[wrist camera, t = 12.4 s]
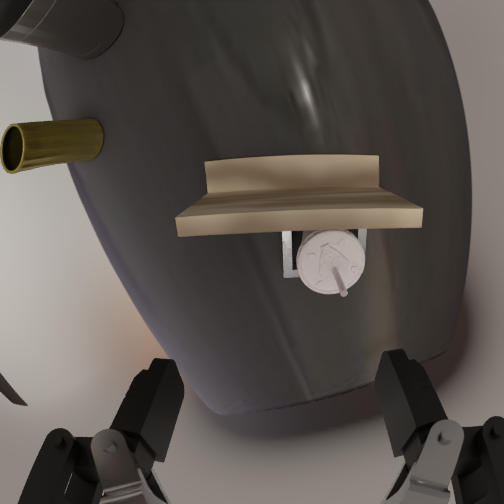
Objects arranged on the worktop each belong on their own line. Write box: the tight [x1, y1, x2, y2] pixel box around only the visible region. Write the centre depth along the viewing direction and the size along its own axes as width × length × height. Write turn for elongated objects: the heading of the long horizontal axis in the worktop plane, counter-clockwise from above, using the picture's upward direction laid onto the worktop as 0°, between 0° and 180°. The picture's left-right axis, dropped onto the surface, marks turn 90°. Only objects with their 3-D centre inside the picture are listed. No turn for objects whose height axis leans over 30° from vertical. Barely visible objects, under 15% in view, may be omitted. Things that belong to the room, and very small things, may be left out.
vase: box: [0, 118, 104, 174], centre depth 24 cm, size 6×6×14 cm
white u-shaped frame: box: [282, 229, 367, 278], centre depth 31 cm, size 9×10×4 cm
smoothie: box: [296, 229, 365, 297], centre depth 26 cm, size 6×6×14 cm
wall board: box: [175, 154, 423, 237], centre depth 25 cm, size 5×20×12 cm, turn 95°
